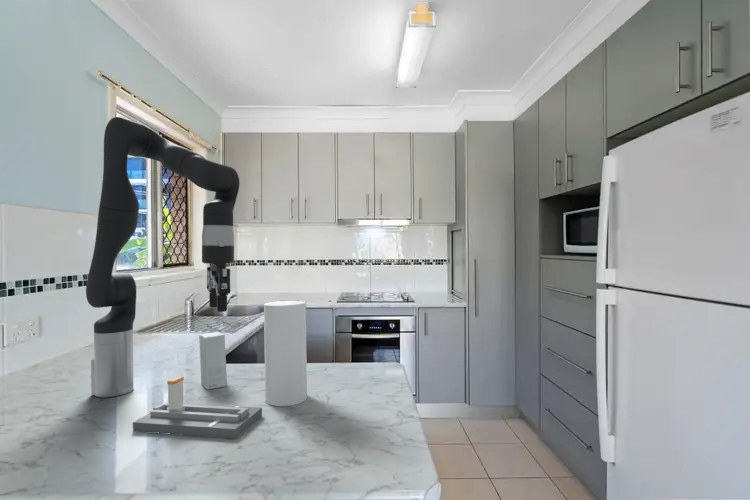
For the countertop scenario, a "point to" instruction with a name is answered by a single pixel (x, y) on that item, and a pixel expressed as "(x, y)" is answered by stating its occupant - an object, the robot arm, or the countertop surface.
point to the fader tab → (175, 394)
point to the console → (199, 420)
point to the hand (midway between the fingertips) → (217, 309)
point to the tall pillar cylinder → (285, 352)
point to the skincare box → (213, 360)
